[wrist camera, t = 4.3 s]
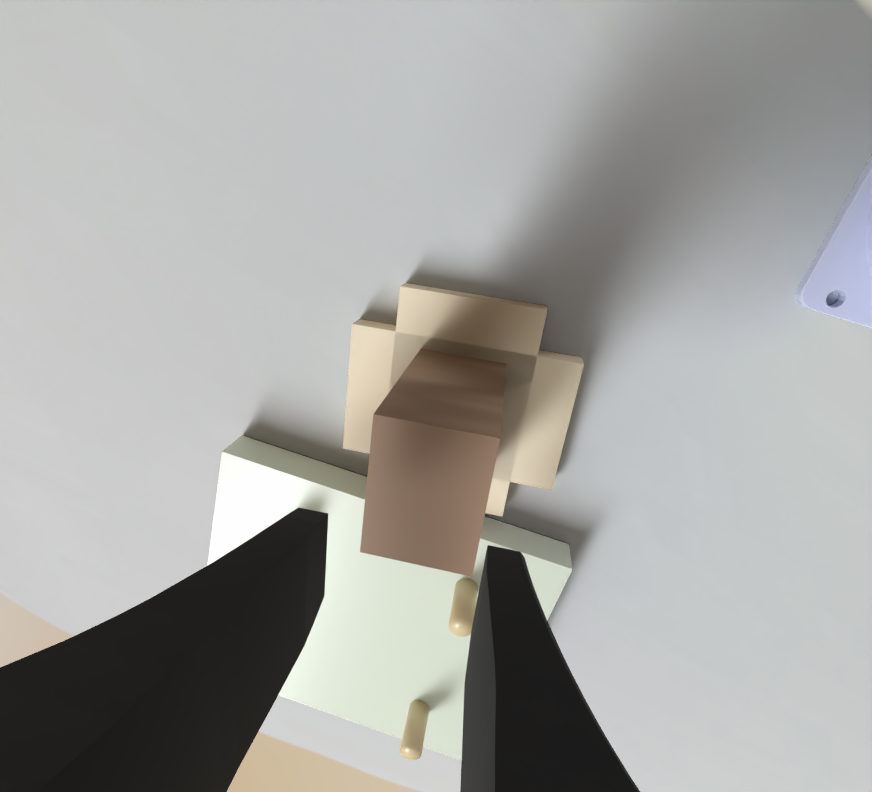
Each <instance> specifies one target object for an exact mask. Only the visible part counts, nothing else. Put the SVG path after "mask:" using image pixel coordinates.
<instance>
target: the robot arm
mask: <svg viewBox="0 0 872 792" xmlns="http://www.w3.org/2000/svg"><path fill="white" fill-rule="evenodd" d="M835 290H837V291H838V293H839V298H838V300H837V301H836V302H835V303H834V304H832V305H830V306H828V305H827V303H826V298H827V296H828V295H829V294H830V293H831V292H833V291H835ZM796 300H797V302H798V303H799V305H801V306H803V307H804V308H807V309H810V310H813V311H817V312H820V313H823V314H827V315H830V316H833V317H836V318H840V319H843V320H846V321H850V322H853V323H856V324H859V325H863V326H866V327H869V328H872V155H871V157H870V159H869V161H868V162H867V164H866V166H865V168H864V170H863V171H862V173H861V175H860V177H859V178H858V180H857V182H856V184H855V186H854V187H853V189H852V191H851V193H850V195H849V196H848V198H847V200H846V202H845V204H844V205H843V207H842V209H841V211H840V213H839V214H838V216H837V218H836V220H835V221H834V223H833V225H832V227H831V229H830V230H829V232H828V234H827V236H826V238H825V239H824V241H823V243H822V245H821V247H820V248H819V250H818V252H817V254H816V256H815V257H814V259H813V261H812V263H811V265H810V266H809V268H808V270H807V272H806V273H805V275H804V277H803V279H802V281H801V282H800V284H799V286H798V288H797V291H796ZM327 532H328V513H324V512H319V511H314V510H309V509H304V508H297V509H295V510H294V511H292V512H290V513H289V514H287V515H286V516H284V517H283V518H281V519H280V520H278V521H277V522H275V523H274V524H272V525H270V526H269V527H267V528H266V529H264V530H263V531H261V532H260V533H258V534H257V535H255V536H254V537H252V538H251V539H249V540H247V541H246V542H244V543H243V544H241V545H240V546H238V547H237V548H235V549H233V550H232V551H230V552H229V553H227V554H225V555H224V556H222V557H221V558H219V559H218V560H216V561H214V562H213V563H211V564H210V565H208V566H206V567H205V568H203V569H201V570H199V571H198V572H196V573H194V574H192V575H191V576H189V577H187V578H185V579H184V580H182V581H180V582H178V583H177V584H175V585H173V586H171V587H170V588H168V589H166V590H164V591H163V592H161V593H159V594H157V595H156V596H154V597H152V598H150V599H149V600H147V601H145V602H143V603H141V604H139V605H137V606H135V607H133V608H131V609H129V610H127V611H125V612H124V613H122V614H120V615H118V616H116V617H114V618H111V619H109V620H107V621H105V622H103V623H101V624H99V625H97V626H95V627H93V628H91V629H89V630H86V631H84V632H82V633H80V634H78V635H76V636H74V637H72V638H69V639H68V640H65V641H63V642H60V643H58V644H56V645H53V646H51V647H49V648H46V649H44V650H41V651H39V652H37V653H34V654H32V655H29V656H27V657H25V658H22V659H20V660H17V661H15V662H13V663H10V664H8V665H6V666H3V667H1V668H0V792H227V790H228V787H229V785H230V784H231V782H232V780H233V778H234V776H235V774H236V772H237V769H238V767H239V766H240V764H241V762H242V760H243V758H244V757H245V755H246V753H247V751H248V749H249V747H250V745H251V743H252V742H253V740H254V738H255V736H256V735H257V733H258V731H259V729H260V727H261V725H262V724H263V722H264V720H265V718H266V716H267V714H268V713H269V711H270V709H271V707H272V705H273V703H274V702H275V700H276V698H277V696H278V694H279V692H280V691H281V689H282V687H283V685H284V683H285V681H286V679H287V678H288V676H289V674H290V672H291V670H292V668H293V666H294V665H295V663H296V661H297V659H298V657H299V655H300V653H301V651H302V650H303V648H304V646H305V643H306V641H307V638H308V636H309V634H310V631H311V629H312V626H313V624H314V621H315V619H316V616H317V614H318V611H319V609H320V606H321V604H322V601H323V599H324V595H325V574H326V553H327ZM461 792H640V791H639V790H638V788H637V786H636V785H635V783H634V782H633V780H632V779H631V777H630V776H629V774H628V773H627V771H626V769H625V768H624V766H623V764H622V763H621V761H620V759H619V758H618V756H617V754H616V753H615V751H614V749H613V748H612V746H611V745H610V743H609V741H608V740H607V738H606V736H605V734H604V733H603V731H602V729H601V727H600V726H599V724H598V722H597V720H596V719H595V717H594V715H593V713H592V711H591V710H590V708H589V706H588V704H587V702H586V700H585V698H584V697H583V695H582V693H581V691H580V689H579V687H578V685H577V683H576V681H575V679H574V677H573V675H572V673H571V671H570V669H569V667H568V665H567V663H566V661H565V659H564V657H563V655H562V653H561V650H560V648H559V646H558V644H557V642H556V639H555V637H554V635H553V633H552V631H551V628H550V626H549V624H548V622H547V619H546V617H545V614H544V612H543V610H542V607H541V604H540V602H539V599H538V597H537V594H536V591H535V589H534V586H533V583H532V580H531V577H530V574H529V571H528V568H527V564H526V561H525V557H524V556H523V555H522V553H521V552H520V551H515V550H510V549H505V548H500V547H495V546H490V545H488V546H487V551H486V556H485V561H484V567H483V572H482V577H481V582H480V588H479V593H478V598H477V603H476V609H475V614H474V619H473V624H472V630H471V638H470V645H469V653H468V660H467V668H466V676H465V685H464V711H463V738H462V767H461Z"/></svg>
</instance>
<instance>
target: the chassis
mask: <svg viewBox="0 0 872 792" xmlns="http://www.w3.org/2000/svg"><path fill="white" fill-rule="evenodd" d="M366 484H367V477H365V476H362V475H359V474H356V473H353V472H350V471H347V470H344V469H341V468H338V467H335V466H332V465H329V464H326V463H323V462H320V461H317V460H314V459H311V458H308V457H305V456H302V455H299V454H296V453H293V452H290V451H287V450H284V449H281V448H278V447H275V446H272V445H269V444H266V443H263V442H260V441H257V440H254V439H251V438H248V437H245V436H241V437H240V438H238V439H237V440H236V441H235V442H233V443H232V444H231V445H230V446H228V447H227V448H226V449H225V450H223V451H222V456H221V463H220V471H219V479H218V487H217V495H216V503H215V510H214V518H213V526H212V534H211V542H210V549H209V557H208V565H210V564H211V563H213V562H214V561H216V560H218V559H219V558H221V557H222V556H224V555H225V554H227V553H229V552H230V551H232V550H233V549H235V548H237V547H238V546H240V545H241V544H243V543H244V542H246V541H247V540H249V539H251V538H252V537H254V536H255V535H257V534H258V533H260V532H261V531H263V530H264V529H266V528H267V527H269V526H270V525H272V524H274V523H275V522H277V521H278V520H280V519H281V518H283V517H284V516H286V515H287V514H289V513H290V512H292V511H294V510H295V509H297V508H304V509H309V510H314V511H319V512H324V513H328V532H327V553H326V574H325V595H324V599H323V601H322V604H321V606H320V609H319V611H318V614H317V616H316V619H315V621H314V624H313V626H312V629H311V631H310V634H309V636H308V638H307V641H306V643H305V646H304V648H303V650H302V651H301V653H300V655H299V657H298V659H297V661H296V663H295V665H294V666H293V668H292V670H291V672H290V674H289V676H288V678H287V679H286V681H285V683H284V685H283V687H282V689H281V691H280V692H279V694H278V695H279V696H282V697H284V698H287V699H290V700H293V701H295V702H298V703H301V704H304V705H307V706H309V707H312V708H315V709H318V710H321V711H323V712H326V713H329V714H332V715H335V716H337V717H340V718H343V719H346V720H349V721H351V722H354V723H357V724H360V725H363V726H365V727H368V728H371V729H374V730H377V731H379V732H382V733H385V734H388V735H391V736H393V737H396V738H399V739H402V742H401V747H400V753H401V755H402V756H403V757H404V758H406V759H409V760H417V759H419V758H420V757H421V754H422V748H423V747H424V748H427V749H430V750H433V751H435V752H438V753H441V754H444V755H447V756H449V757H452V758H455V759H458V760H461V761H462V738H463V711H464V685H465V676H466V668H467V660H468V653H469V645H470V638H471V630H472V624H473V619H474V614H475V609H476V603H477V598H478V593H479V588H480V582H481V577H482V572H483V567H484V561H485V556H486V551H487V546H488V545H490V546H495V547H500V548H505V549H510V550H515V551H520V552H521V553H522V555H523V556H524V557H525V561H526V564H527V568H528V571H529V574H530V577H531V580H532V583H533V586H534V589H535V591H536V594H537V597H538V599H539V602H540V604H541V607H542V610H543V612H544V614H545V617H546V619H547V620H548V618H549V616H550V614H551V612H552V610H553V608H554V606H555V604H556V602H557V600H558V598H559V596H560V594H561V592H562V590H563V588H564V586H565V584H566V582H567V580H568V578H569V576H570V574H571V572H572V569H573V568H572V562H571V555H570V548H569V544H567V543H564V542H561V541H558V540H555V539H552V538H549V537H546V536H543V535H540V534H537V533H534V532H531V531H528V530H525V529H522V528H519V527H516V526H513V525H510V524H507V523H504V522H501V521H498V520H495V519H492V518H489V517H486V516H484V521H483V526H482V531H481V536H480V541H479V546H478V551H477V556H476V561H475V566H474V570H473V575H472V577H471V576H466V575H462V574H457V573H452V572H448V571H443V570H439V569H434V568H430V567H425V566H421V565H416V564H412V563H407V562H402V561H398V560H393V559H389V558H384V557H380V556H375V555H371V554H366V553H362V552H360V546H361V536H362V526H363V515H364V505H365V495H366ZM208 565H207V566H208Z"/></svg>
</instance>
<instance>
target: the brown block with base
mask: <svg viewBox="0 0 872 792" xmlns="http://www.w3.org/2000/svg"><path fill="white" fill-rule="evenodd" d="M546 315H547V307H546V306H544V305H538V304H532V303H525V302H519V301H513V300H507V299H501V298H495V297H489V296H483V295H476V294H470V293H464V292H458V291H452V290H446V289H440V288H434V287H427V286H421V285H415V284H409V283H405V284H403V285H402V286H400V293H399V303H398V312H397V321H396V325H391V324H385V323H379V322H374V321H368V320H362V319H359V320H357V321H356V322H354V323H353V324H352V332H351V345H350V358H349V372H348V385H347V399H346V412H345V425H344V439H343V449H348V450H353V451H358V452H363V453H368V454H369V464H368V474H367V484H366V495H365V505H364V515H363V526H362V536H361V546H360V552H362V553H366V554H371V555H375V556H380V557H384V558H389V559H393V560H398V561H402V562H407V563H412V564H416V565H421V566H425V567H430V568H434V569H439V570H443V571H448V572H452V573H457V574H462V575H466V576H471V577H472V575H473V570H474V566H475V561H476V556H477V551H478V546H479V541H480V536H481V531H482V526H483V521H484V516H485V513H487V514H492V515H496V516H501V517H502V516H503V511H504V507H505V502H506V498H507V493H508V488H509V484H510V482H513V483H518V484H523V485H528V486H533V487H538V488H543V489H548V490H552V488H553V484H554V480H555V476H556V472H557V468H558V464H559V460H560V456H561V453H562V449H563V445H564V441H565V437H566V433H567V429H568V425H569V421H570V418H571V414H572V410H573V406H574V402H575V398H576V394H577V390H578V386H579V383H580V379H581V375H582V371H583V367H584V363H583V360H582V358H581V357H577V356H571V355H565V354H560V353H554V352H548V351H542V350H539V347H540V343H541V338H542V333H543V329H544V324H545V320H546Z"/></svg>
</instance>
